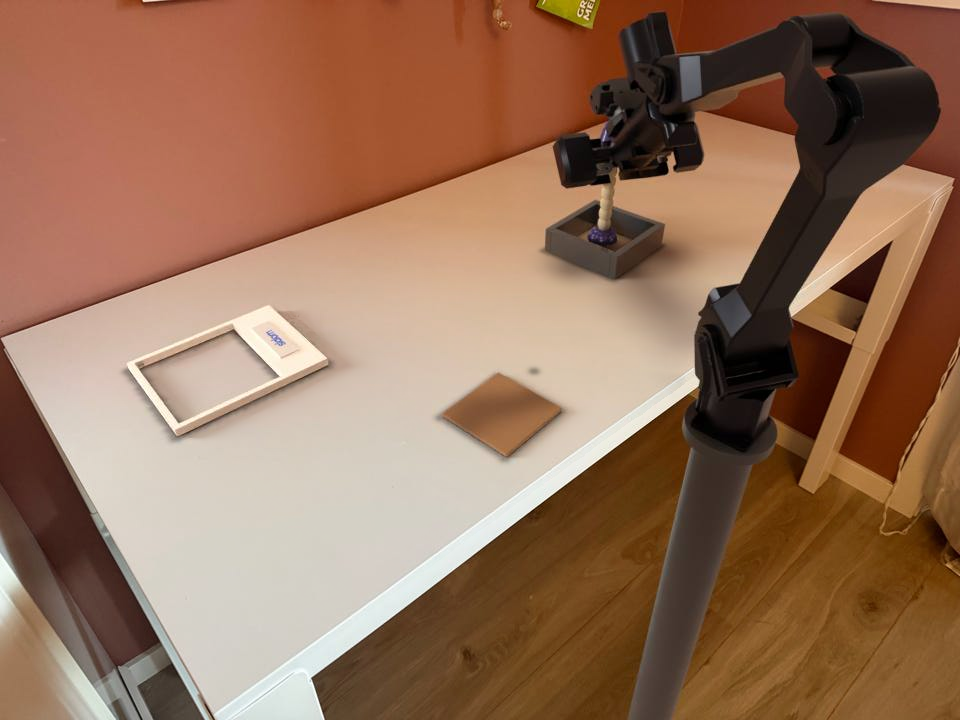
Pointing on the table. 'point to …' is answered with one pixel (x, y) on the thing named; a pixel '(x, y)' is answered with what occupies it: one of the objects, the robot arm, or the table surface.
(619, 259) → the grey square tray
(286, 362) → the photo frame
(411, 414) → the table surface
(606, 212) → the toy lamp
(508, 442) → the cork pad
